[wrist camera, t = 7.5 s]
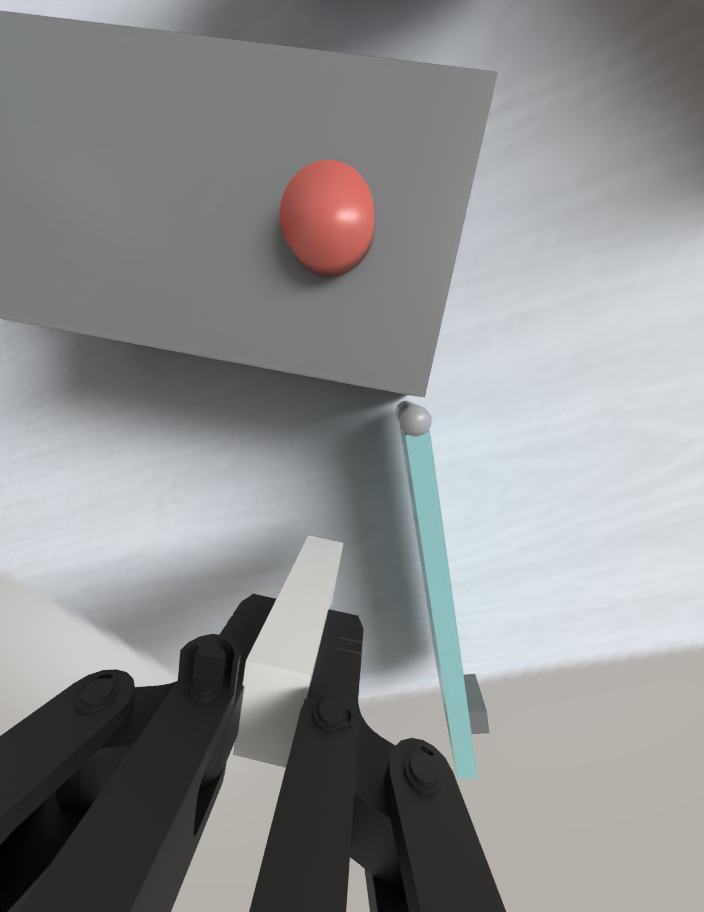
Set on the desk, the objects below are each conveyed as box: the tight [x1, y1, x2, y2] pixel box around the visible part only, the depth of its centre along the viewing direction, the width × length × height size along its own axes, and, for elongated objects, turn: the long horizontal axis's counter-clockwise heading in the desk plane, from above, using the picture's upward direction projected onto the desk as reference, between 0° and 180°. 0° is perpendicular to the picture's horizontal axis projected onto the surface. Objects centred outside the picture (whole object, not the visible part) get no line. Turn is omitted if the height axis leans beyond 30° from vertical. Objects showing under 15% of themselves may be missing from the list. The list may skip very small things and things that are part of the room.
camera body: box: [0, 11, 497, 397], centre depth 13 cm, size 19×8×9 cm, turn 80°
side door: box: [396, 401, 489, 778], centre depth 15 cm, size 15×2×6 cm, turn 10°
